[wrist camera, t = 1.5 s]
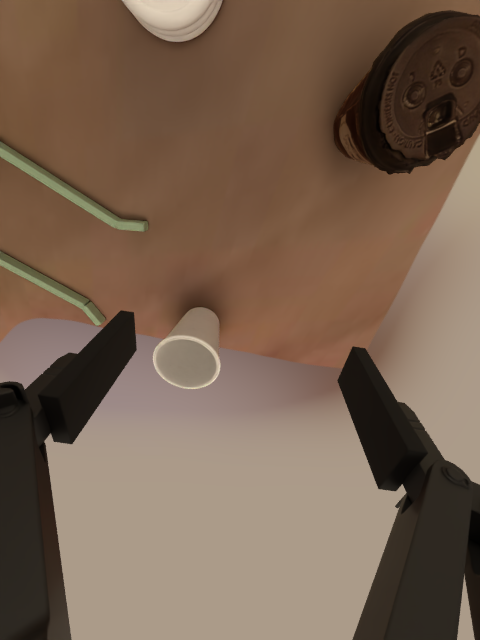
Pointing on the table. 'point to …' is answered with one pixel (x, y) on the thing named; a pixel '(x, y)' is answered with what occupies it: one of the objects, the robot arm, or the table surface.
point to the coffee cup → (416, 96)
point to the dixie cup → (190, 351)
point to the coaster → (174, 17)
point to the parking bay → (81, 201)
